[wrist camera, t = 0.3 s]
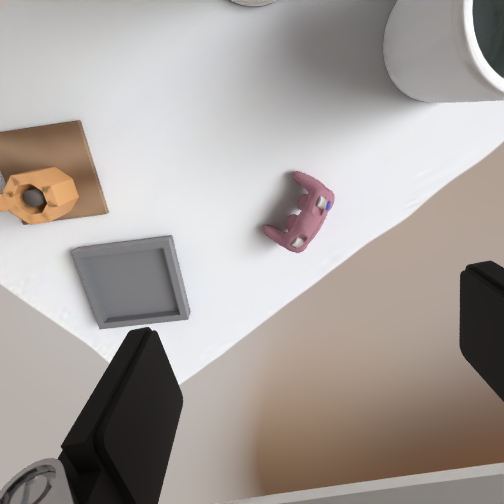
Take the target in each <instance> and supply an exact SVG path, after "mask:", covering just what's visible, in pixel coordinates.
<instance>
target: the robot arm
mask: <svg viewBox="0 0 504 504" xmlns="http://www.w3.org/2000/svg"><path fill="white" fill-rule="evenodd" d="M231 1H232V2H235V3H238V4H241V5H245V6H253V7H254V6H263V5H267V4H270V3H273V2H275V1H277V0H231ZM460 349H461V352H462V354H463V356H464V357H465V359H466V360H467V361H468V362H469V363H470V364H471V365H472V367H473V368H474V369H475V370H476V371H477V372H478V373H479V374H480V376H481V377H482V378H483V379H484V380H485V381H486V382H487V384H488V385H489V386H490V387H491V388H492V389H493V390H494V391H495V392H496V394H497V395H498V396H499V397H500V398H501V399H502V400H503V401H504V268H503V267H501V266H500V265H498V264H496V263H494V262H492V261H485V262H480V263H475V264H470V265H468V266H467V267H466V269H465V271H462V272H461V274H460ZM182 406H183V396H182V392H181V390H180V387H179V385H178V382H177V380H176V377H175V375H174V373H173V370H172V368H171V365H170V363H169V360H168V358H167V355H166V353H165V350H164V348H163V345H162V343H161V340H160V338H159V335H158V333H157V332H156V331H155V330H154V331H152V330H151V329H150V328H149V327H145V328H140V329H135V330H131V331H129V332H128V334H127V336H126V337H125V339H124V341H123V342H122V344H121V346H120V347H119V349H118V351H117V352H116V354H115V356H114V357H113V359H112V361H111V363H110V364H109V366H108V368H107V369H106V371H105V373H104V374H103V376H102V378H101V379H100V381H99V383H98V384H97V386H96V388H95V389H94V391H93V393H92V395H91V396H90V398H89V400H88V401H87V403H86V405H85V406H84V408H83V410H82V411H81V413H80V415H79V416H78V418H77V420H76V421H75V423H74V425H73V426H72V428H71V430H70V432H69V433H68V435H67V437H66V438H65V440H64V442H63V444H62V445H61V448H62V449H63V451H62V452H61V454H60V456H59V457H58V459H54V458H48V459H43V460H40V461H37V462H35V463H33V464H31V465H29V466H28V467H26V468H24V469H23V470H22V471H20V472H19V473H18V474H16V475H15V476H14V477H13V478H12V479H11V480H10V481H9V482H8V483H7V484H6V485H5V486H4V487H3V488H2V490H1V491H0V504H158V501H159V497H160V493H161V489H162V485H163V481H164V477H165V473H166V469H167V465H168V461H169V457H170V453H171V449H172V446H173V442H174V438H175V434H176V429H177V426H178V422H179V418H180V414H181V410H182ZM214 504H504V463H498V464H491V465H483V466H476V467H469V468H462V469H453V470H446V471H439V472H431V473H424V474H417V475H410V476H403V477H395V478H388V479H381V480H373V481H366V482H359V483H352V484H345V485H339V486H331V487H324V488H317V489H310V490H303V491H296V492H289V493H281V494H275V495H268V496H261V497H255V498H248V499H241V500H234V501H227V502H220V503H214Z"/></svg>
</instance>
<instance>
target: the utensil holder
mask: <svg viewBox="0 0 504 504" xmlns="http://www.w3.org/2000/svg"><path fill="white" fill-rule="evenodd" d="M383 56H384V62H385V66H386V69H387V72H388V74H389V76H390V78H391V80H392V81H393V83H394V84H395V85H396V86H397V88H398V89H399V90H400V91H402V92H403V93H404V94H406V95H407V96H409V97H411V98H413V99H416V100H420V101H425V102H477V101H496V100H504V0H397V2H396V4H395V5H394V7H393V9H392V11H391V13H390V16H389V18H388V21H387V24H386V28H385V33H384V41H383Z"/></svg>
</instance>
